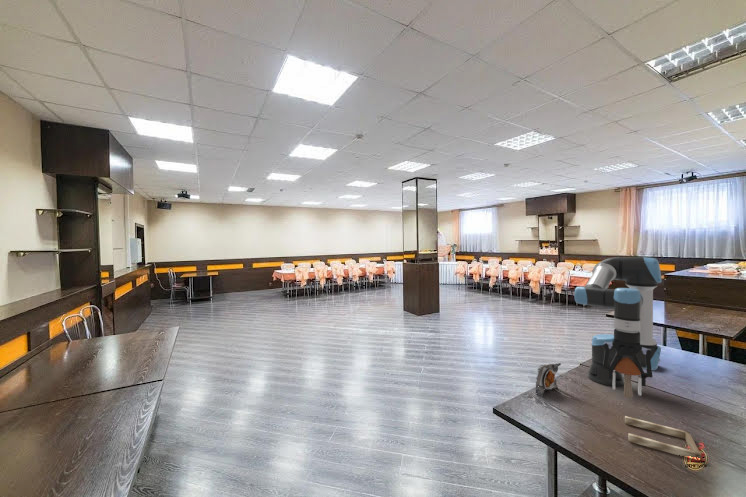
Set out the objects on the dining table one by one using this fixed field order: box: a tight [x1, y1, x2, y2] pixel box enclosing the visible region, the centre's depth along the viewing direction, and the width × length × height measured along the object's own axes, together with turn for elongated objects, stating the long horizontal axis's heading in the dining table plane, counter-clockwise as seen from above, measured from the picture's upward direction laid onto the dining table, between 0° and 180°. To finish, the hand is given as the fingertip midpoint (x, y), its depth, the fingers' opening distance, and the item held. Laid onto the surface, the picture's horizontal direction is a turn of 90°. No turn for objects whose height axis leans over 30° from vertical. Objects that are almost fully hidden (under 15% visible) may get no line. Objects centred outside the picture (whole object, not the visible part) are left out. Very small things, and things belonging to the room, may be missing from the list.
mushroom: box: [614, 357, 641, 399], centre depth 113 cm, size 8×8×15 cm
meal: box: [535, 363, 562, 398], centre depth 146 cm, size 15×4×13 cm, turn 122°
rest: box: [624, 415, 702, 459], centre depth 109 cm, size 18×14×3 cm
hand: (626, 390), depth 113 cm, fingers closed on mushroom, 7 cm apart
